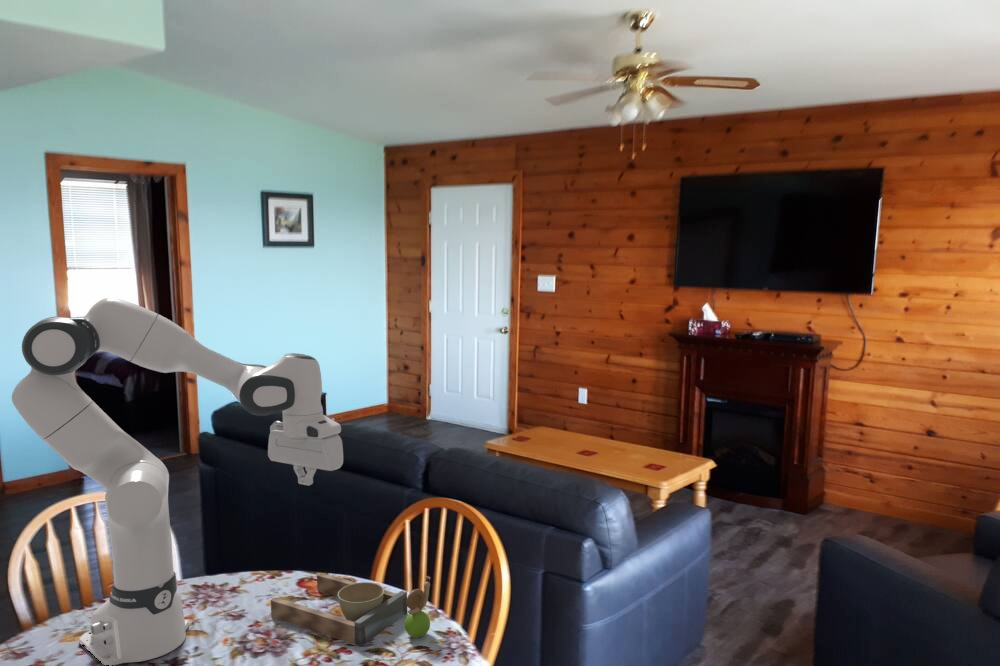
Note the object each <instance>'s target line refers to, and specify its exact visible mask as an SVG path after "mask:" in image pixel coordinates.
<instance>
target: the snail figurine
mask: <svg viewBox="0 0 1000 666" xmlns="http://www.w3.org/2000/svg"><path fill="white" fill-rule="evenodd" d="M425 578H426V581H425V582H424V584H423V588H424V589H423V590H422V589H421V588H415V589H413V590H412V591H410V592H409V594H407V609H408V610H407V615H406V617H405V619H404V630H405V632H406V634H407V635H409V637H411V638H415V639H419V638H420V639H421V638H422V637H424V636H426V635H427V633H428V632H429V630H430V628H431V619H430V616H429V615H428V613H426V612H425V611H423V609H424V608H425V607H426V605H427V603H428V600H429V595H430V587H431V583H430V581H431V576H428V575H426V576H425ZM428 580H429V581H428Z"/></svg>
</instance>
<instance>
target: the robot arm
mask: <svg viewBox="0 0 1000 666" xmlns="http://www.w3.org/2000/svg"><path fill="white" fill-rule="evenodd" d="M21 352H22V355H23V357H24V360H25V361H26V363H27V364H28V366H30V367H31V369H30V372H29V373H28V374H27V375H26V376H25V377H23V378H22V379H21V380H20V381H19V382H18V383H17V384H16V385H15V387H14V389H13V391H12V394H11V401H12V404H13V406H14V408H15V409H16V410H17V412H18V413H19V414H20V416H21V418H22V419H23V420H24V421H25V422H26V424H28V426H29V427H30V428H31V429H32V431H33V432H34V433H35V434H36V435H37V436H39V438H40V439H41V440H43V442H45V443H46V444H47V446H48V447H50V449H52V450H53V451H54V452H55V453H56V454H57V455H58V456H59V457H60V458H61V459H62V460H63V461H64V462H66V463H67V465H69V467H71V468H72V469H73V470H75V471H79V472H81V473H82V474H84V475H86V476H87V477H89V478H90V479H92V481H95V482H96V483H98V484H99V485H100V486H101V487H103V488H104V489H105V491H106V492H105V494H104V496H105V497H104V502H105V503H104V504H105V512H106V522H107V527H108V528H107V529H108V534H109V540H110V545H111V553H112V554H111V555H112V569H113V571H112V572H113V581H111V582H109V583H107V585H109V586H108V587H107V589H108V590H109V589H111V590H110V594H109V597H108V598H109V599H107V600H106V601H105V602H104V603H103V604H101V605H100V606H99V607H98V608H97V609H95V611H93V614H92V615H91V621H90V623H91V625H90V628H89V630H87V631H85V632H84V633H83V634H82V635H81V636H80V637H79V638H78V642H79V641H80V642H81V643H83V644H84V645H85V646H86V647H87V648H88V649H89V650H90V651H91V652H92V653H93V654H94V655H95V656H96V657H97V658H98V660H99V661H101V663H102V664H101V663H100V664H101V665H103V664H104V665H109V666H112V665H113V666H116V665H121V664H127V663H140V662H146V661H149V660H153V659H156V658H160V657H162V656H165V655H167V654H168V653H171V652H172V651H174V650H176V649H177V648H179V646H181V645H182V644H183V643H184V641H186V640H185V639H186V638H187V637H186V636H187V634H186V631H187V630H188V628H189V627H190V621H189V620H188V619H186V618H185V615H184V613H185V612H184V608H183V602H182V596H181V593H180V592H179V591H178V586H177V584H178V579H177V574H176V572H175V571H174V560H173V559H174V557H173V542H172V541H173V540H172V532H171V531H172V530H171V523H170V510H169V509H170V508H169V485H170V483H169V482H170V474H169V470H168V468H167V467H166V465H165V464H164V462H163V461H162V459H159V458H158V457H157V456H155V454H153V452H151V451H150V450H149V449H147V448H146V447H145V446H144V445H142V443H140V442H139V441H137V440H136V439H135V438H133V437H132V436H131V435H130V434H128V433H127V432H126V431H124V430H123V429H122V428H121V427H120V426H119V425H118V424H117V423H116V422H115V421H114V420H113V419H112V418H111V417H110V416H109V415H108V414H107V413H106V412H104V411H103V409H102V408H100V406H99V405H98V404H96V402H95V401H94V400H92V398H91V397H90V396H89V395H87V393H85V391H84V390H83V389H82V388H81V387H80V386H79V384H78V383H77V380H76V378H75V374H76V373H77V371H78V370H79V368H80V367H81V366H83V365H84V364H85V363H86V362H87V360H89V358H91V357H92V356H93V355H95V353H99V352H105V353H109V354H112V355H113V356H114V355H115V356H117V357H119V358H121V359H124V360H125V361H128V362H130V363H132V364H135V365H136V366H137V365H138V366H139V367H142V368H145V369H147V370H151V371H155V372H158V373H164V374H168V373H176V372H177V373H178V372H180V373H181V372H182V373H183V372H184V373H190V374H193V375H196V376H199V377H201V378H204V379H205V380H207V381H209V382H212V383H215V384H216V385H219V386H221V387H223V388H225V389H227V390H228V391H229V392H230V393H232V394H233V396H234V397H235V398H236V400H237V401H238V402H239V403H240V405H241V406H242V407H243V409H244V410H245V411H246V412H248V413H249V414H250V415H254V416H257V417H258V416H260V417H261V416H262V417H263V416H269V415H273V414H276V413H277V414H278V413H279V412H282V421H280V420H275V421H273V422H272V424H271V425H270V426H269V432H270V433H269V435H268V444H267V456H268V459H269V460H270V461H271V462H277V463H282V464H288V465H292V466H293V470H294V473H295V475H296V476H297V483H298V484H299V485H304V486H311V485H313V483H314V476H315V474H316V472H317V470H318V469H319V470H322V471H327V472H328V471H329V472H333V471H335V470H338V469H341V467H342V466H343V464H344V448H343V447H344V446H343V440H342V438H341V436H340V433H341V432H342V427H341V426H342V425H341V424H340V423H338V422H337V421H335V420H333V419H331V418H329V417H328V416H327V415H325V414H324V409H323V405H322V401H321V400H322V394H323V382H322V374H321V373H322V371H321V367H320V364H319V363H320V362H318V360H317V359H316V358H315V357H313V356H312V355H309V354H308V355H307V354H303V353H295V352H294V353H293V352H292V353H286V354H284V355H283V356H281V358H279V359H278V360H276V361H275V362H273V363H271V364H269V365H268V366H265V365H263V364H254V363H252V364H251V363H250V364H249V363H241V362H239V361H236V360H234V359H231V358H229V357H227V356H225V355H224V354H220V353H218V352H216V351H214V350H212V349H210V348H208V347H206V346H205V345H203V344H202V343H201V342H199V341H198V340H197V339H196V338H194V336H192V334H190V333H189V332H188V331H186V330H185V329H184V328H183V327H181V326H180V325H178V324H177V323H175V322H174V321H172V320H171V319H168V318H167V317H164V316H163V315H161V314H159V313H157V312H155V311H153V310H150V309H148V308H146V307H143V306H141V305H138V304H135V303H132V302H129V301H126V300H122V299H119V298H116V297H106V298H103V299H102V298H101V300H99V301H96V303H95V304H93V305H92V307H91V308H90V309H89V310H88V312H87V313H86V314H85V315H84V316H83V317H67V316H50V317H49V316H48V317H46V318H44V319H41V320H40V321H38V322H36V323H35V324H33V325H32V326H31V327H30V328H29V329H28V330H27V331H26V332H25V334H24V336H23V338H22V341H21ZM304 468H305V470H304ZM89 633H91V634H89ZM98 660H97V661H98ZM99 661H98V662H99ZM104 665H103V666H104Z"/></svg>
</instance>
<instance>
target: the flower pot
mask: <svg viewBox="0 0 1000 666" xmlns="http://www.w3.org/2000/svg"><path fill="white" fill-rule="evenodd" d="M384 590H385V589H384V587H383V586H382V585H381V584H378V583H375V582H370V581H369V582H367V581H364V582H361V581H360V582H356V583H354V584H350V585H348V586H345V587H343V588H342V589H341V590H340V591H339V592H338V597H337V599H338V604H339V608H340V610H341V612H342V615H343V617H344V619H347V620H350V621H354V622H355V621H357V620H358V619H360V618H361V617H363V616H364V615H366V614H367V613H369V612H370V611H372V610H373V609H375V608H376V607H378V606H379V605H381V604H382V601H383V596H384Z"/></svg>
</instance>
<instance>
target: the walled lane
mask: <svg viewBox="0 0 1000 666" xmlns="http://www.w3.org/2000/svg"><path fill="white" fill-rule="evenodd" d="M354 583H357V581H356V582H355V581H352V580H348V579H345V578H341V577H337V576H334V575H330V574H325V573H322V572H321V573H318V574H317V575H316V585H317V586H316V588H317V590H316V591H317V592H319V593H322V594H327V595H329V596H332V597H337V598H338V592H339V591H340V590H341V589H342V588H343V587H345V586H348V585H350V584H354ZM407 597H408V592H407V591H404V590H400V591H399V592H397V593H396V592H392V591H389V590H385V589H384V596H383V601H382V604H381V605H379V606H378V607H376V608H375V609H373V610H372V611H370V612H369V613H367V614H366V615H364V616H363V617H361V618H360V619H358V620H357V621H355V622H354V621H350V620H347V619H346V618H345V617H344V618H343V617H341V616H337V615H334V614H330V613H327V612H324V611H320V610H317V609H314V608H311V607H308V606H304V605H301V604H297V603H295V602H292V601H288V600H285V599H283V598H278V597H274V598H272V599H271V600H270V616H271V618H273V619H276V620H278V621H282V622H284V623H288V624H290V625H293V626H296V627H300V628H304V629H306V630H309V631H312V632H315V633H317V634H321V635H324V636H328V637H330V638H334V639H336V640H339V641H343V642H345V643H349V644H352V645H355V646H357V647H362V646H364V645H365V644H367V643H368V642H369V641H371V640H372V639H374V638H375V637H376V636H378V635H379V634H380V633H382V632H383V631H385V630H387V628H389V627H390V626H392V625H393V624H395V623H396V622H397V621H399V620H400V619H402V618H403V617H405V615H406V616H407V615H408V606H407Z"/></svg>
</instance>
